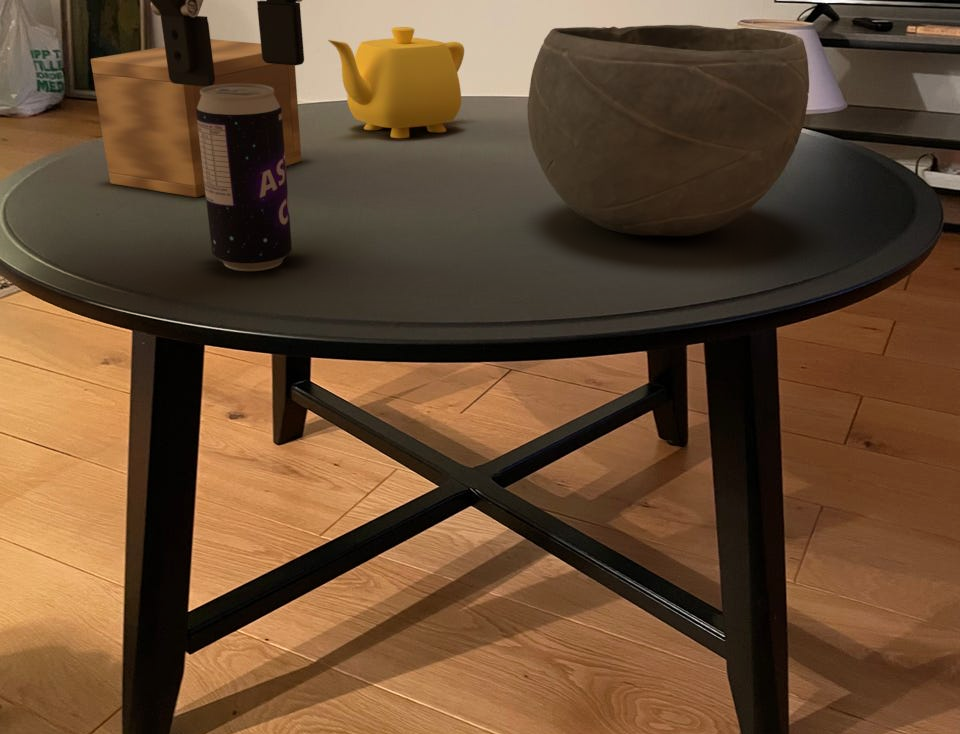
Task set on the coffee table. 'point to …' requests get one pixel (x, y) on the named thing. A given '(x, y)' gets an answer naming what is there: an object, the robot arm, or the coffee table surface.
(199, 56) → the robot arm
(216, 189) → the beverage can
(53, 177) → the coffee table surface
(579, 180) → the bowl
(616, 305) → the coffee table surface
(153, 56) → the small wooden crate
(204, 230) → the coffee table surface
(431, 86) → the teapot
